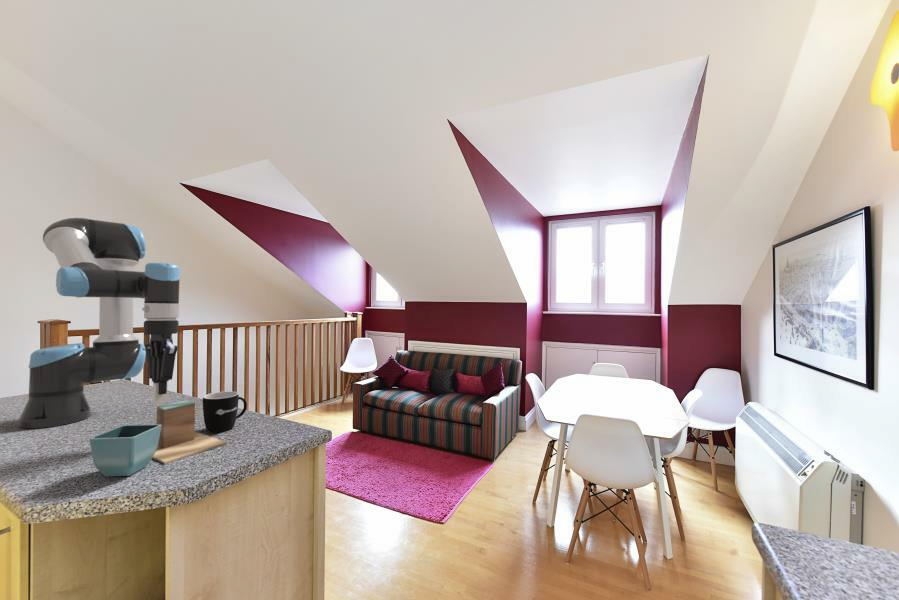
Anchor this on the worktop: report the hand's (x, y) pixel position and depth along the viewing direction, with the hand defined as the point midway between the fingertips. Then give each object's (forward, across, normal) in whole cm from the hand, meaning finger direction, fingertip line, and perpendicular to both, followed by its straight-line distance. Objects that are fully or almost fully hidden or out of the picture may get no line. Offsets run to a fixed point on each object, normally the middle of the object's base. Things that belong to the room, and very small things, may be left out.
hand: (159, 405), depth 99 cm
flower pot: (+9, +17, -13) cm, 23 cm away
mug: (+9, +7, +14) cm, 18 cm away
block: (+9, +9, 0) cm, 12 cm away
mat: (+9, +11, 0) cm, 14 cm away
